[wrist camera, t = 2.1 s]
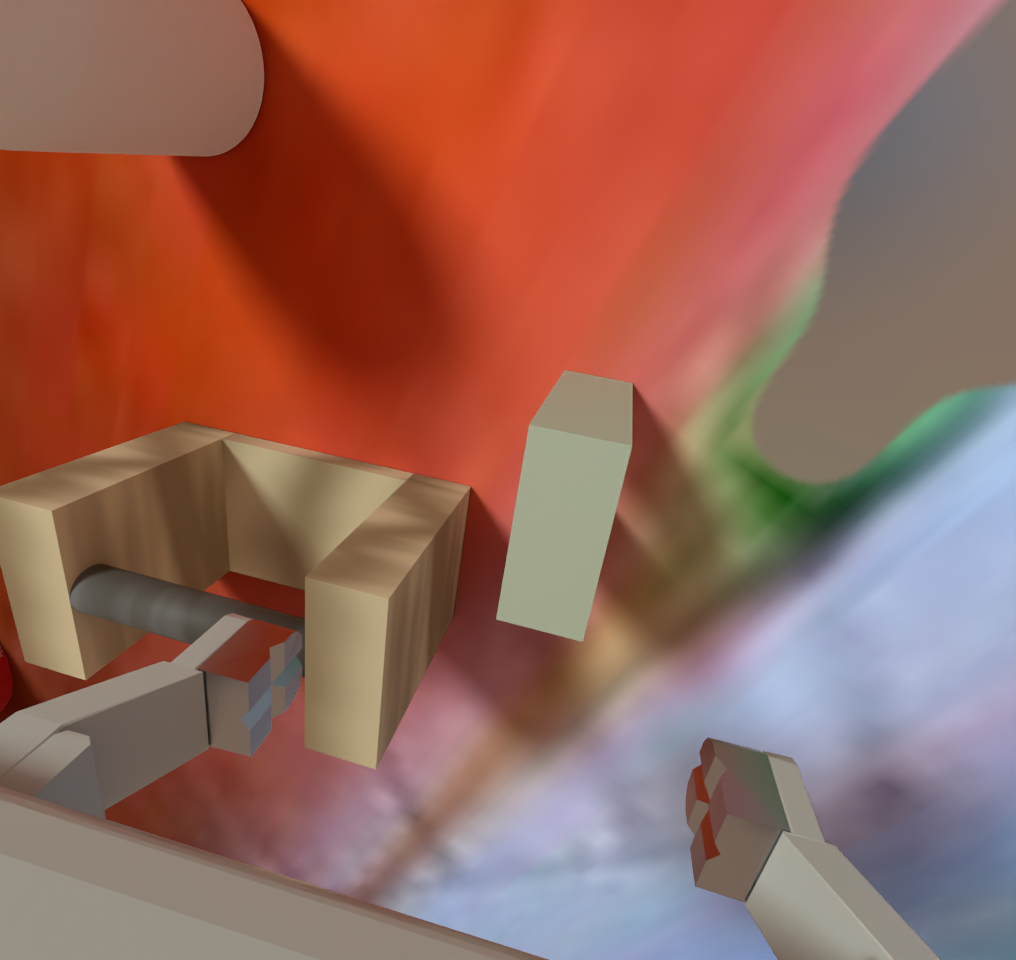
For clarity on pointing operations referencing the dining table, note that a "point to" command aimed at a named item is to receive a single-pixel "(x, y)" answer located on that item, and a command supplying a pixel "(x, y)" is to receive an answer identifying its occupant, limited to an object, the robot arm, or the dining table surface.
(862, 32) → the dining table surface
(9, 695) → the kitchen timer
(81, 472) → the wooden frame with rod
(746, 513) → the dining table surface
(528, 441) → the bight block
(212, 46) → the cup
